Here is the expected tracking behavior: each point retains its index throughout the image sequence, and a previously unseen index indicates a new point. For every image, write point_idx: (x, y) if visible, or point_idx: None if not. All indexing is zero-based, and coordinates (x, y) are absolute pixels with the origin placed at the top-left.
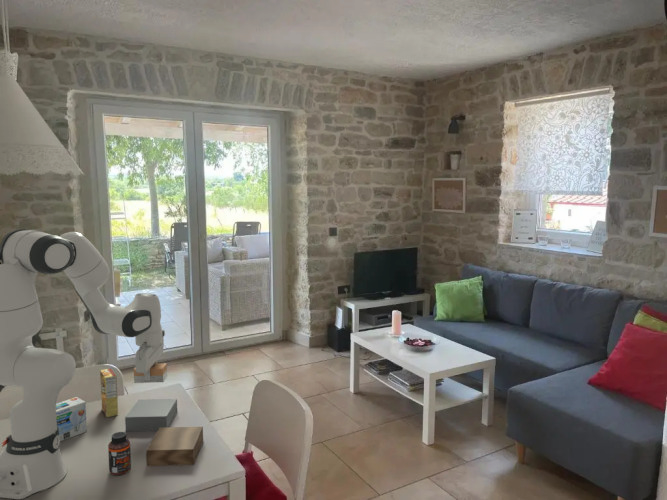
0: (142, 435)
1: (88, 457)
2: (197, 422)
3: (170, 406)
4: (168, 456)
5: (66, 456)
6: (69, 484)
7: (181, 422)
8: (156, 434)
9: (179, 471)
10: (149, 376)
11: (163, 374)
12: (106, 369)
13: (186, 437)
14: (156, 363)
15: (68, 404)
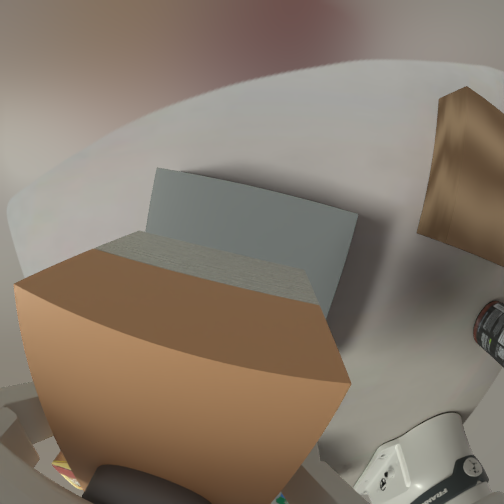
0: (350, 296)
1: (402, 402)
2: (307, 91)
3: (245, 195)
4: None
5: (371, 438)
6: (470, 395)
7: (289, 150)
8: (480, 253)
9: None
10: (318, 448)
11: (293, 302)
12: (64, 476)
13: None
14: (25, 400)
15: None
